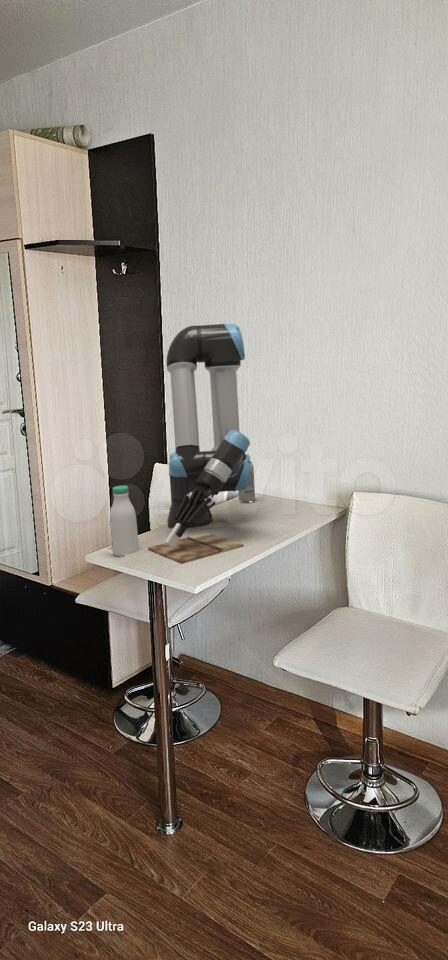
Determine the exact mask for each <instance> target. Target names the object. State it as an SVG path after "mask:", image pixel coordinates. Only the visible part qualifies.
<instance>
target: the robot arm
mask: <svg viewBox="0 0 448 960" xmlns="http://www.w3.org/2000/svg"><path fill="white" fill-rule="evenodd" d="M244 346H245V344H244V340H243V336H242V332H241V329H240V327H239V326H238V325H237V324H235V323H217V324H216V323H215V324H201V325H189V326H187V327H185V328H183V329H181V331H179V332H178V333H177V334H176V335H175V337H174V338H173V339H172V341H171V343H170V345H169V347H168V350H167V355H166V371H167V372H168V373H170V387H171V389H170V391H171V401H172V403H171V404H172V417H173V433H174V435H173V436H174V447H175V450H174V451H175V452H174V453H173V452H172V453H170V455H169V465H168V476H169V483H170V484H169V485H170V489H169V490H170V499H171V501H170V502H171V503H170V507H169V512H168V516H167V528H169V529H172V530H171V531H170V533H169V534H168V536H167V537H166V539H165V540H164V543H167V544H168V545H169V546H171V547H173V548H174V547H175V545H176V544H177V542H178V540H179V539H181V537H183V535H184V534H185V532H186V531H187V529H193V528H199V527H204V526H208V525H209V524H211V523H213V522H214V517H213V514H212V512H211V508H213V507H214V506H215V505H216V501H214V500H213V498H214V496H217V495H218V494H220V493H222V492H237V491H238V492H239V490H244V489H246V488H247V486H248V484H249V478H250V461H251V456H250V455H249V454H248V453H247V454H246V452H247V451H248V448H250V445H251V442H250V441H251V440H249V438H248V437H247V436H246V435H245V434H243V433H242V432H240V430H241V429H240V417H239V416H240V415H239V397H238V396H239V395H238V377H237V376H238V375H237V371H238V370H239V369H240V367H241V365H242V364H241V363H242V362H241V361H244V360H245V359H246V353H245V347H244ZM198 363H204V369H205V370H206V371H207V372H208V373H209V380H210V397H211V411H212V412H211V413H212V414H211V415H212V430H213V448H211V450H207V451H205V450H204V451H203V450H202V451H201V448H200V436H199V435H200V433H199V421H198V410H197V409H198V406H197V405H198V404H197V395H196V394H197V393H196V392H197V391H196V379H195V372H196V371H197V369H198V365H197V364H198Z"/></svg>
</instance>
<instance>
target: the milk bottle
mask: <svg viewBox="0 0 448 960" xmlns="http://www.w3.org/2000/svg"><path fill="white" fill-rule="evenodd" d="M129 493H130V492H129V487H128V486H127V485H116V486H114V487H112V495H113V501H112V505H111V507H110V512H109V525H110V536H111V537H110V538H111V539H110V540H111V548H112V555H114V556H116V557H125V555H126V554H132V553H136V552H138V551H139V549H140V546H139V544H140V543H139V533H138V524H137V523H138V522H137V513H136V510H135V507H134V506H133V504H132V502H131V500H130V497H129Z"/></svg>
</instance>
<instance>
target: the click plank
mask: <svg viewBox="0 0 448 960" xmlns="http://www.w3.org/2000/svg"><path fill="white" fill-rule="evenodd" d="M147 551H149V552H152V553H154V554H157V555H159V556H161V557H164V558H166V559H169V560H171V561H174V562H176V563H179V564H181V565H183V564H187V563H189V562H190V563H191V562H194V561H197V560H200V559H205V558H207V557H211V556H214V555H219V554H221V552H220V550H217V549H214V548H212V547H209V546H206V545H203V544H200V543H198V542H195V541H192V540H189V539H186V538H185V537H184V538H180V539H179V540H178V542H177V544H176V545H175V547H174V548H173V547H171V546H169V545H168V544H167V543H166V542H164V543H160V544H155V545H152V546H148V547H147Z"/></svg>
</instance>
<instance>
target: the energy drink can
mask: <svg viewBox="0 0 448 960" xmlns="http://www.w3.org/2000/svg"><path fill="white" fill-rule="evenodd" d="M254 467H255V466H254V464H253V462H252V460H250V478H249V484H248V486H247V488H246V489H244V490H238V500H239V501H240V502H241V501H242V502H249V501H253V500H254V501H255V500H256V492H255V491H256V489H255V486H256V485H255V468H254Z"/></svg>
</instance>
